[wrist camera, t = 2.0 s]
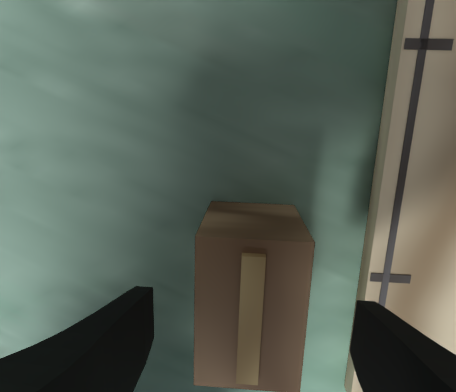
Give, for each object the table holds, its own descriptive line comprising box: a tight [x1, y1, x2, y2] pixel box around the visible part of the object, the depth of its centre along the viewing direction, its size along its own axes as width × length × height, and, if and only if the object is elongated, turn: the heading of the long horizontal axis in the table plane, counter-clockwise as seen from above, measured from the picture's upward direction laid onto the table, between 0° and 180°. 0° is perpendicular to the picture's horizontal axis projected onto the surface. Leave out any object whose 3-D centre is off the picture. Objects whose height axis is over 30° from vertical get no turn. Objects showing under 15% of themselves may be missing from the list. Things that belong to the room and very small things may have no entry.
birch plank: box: [344, 0, 456, 392], centre depth 14 cm, size 6×24×1 cm, turn 178°
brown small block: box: [194, 201, 315, 392], centre depth 14 cm, size 4×6×5 cm, turn 178°
